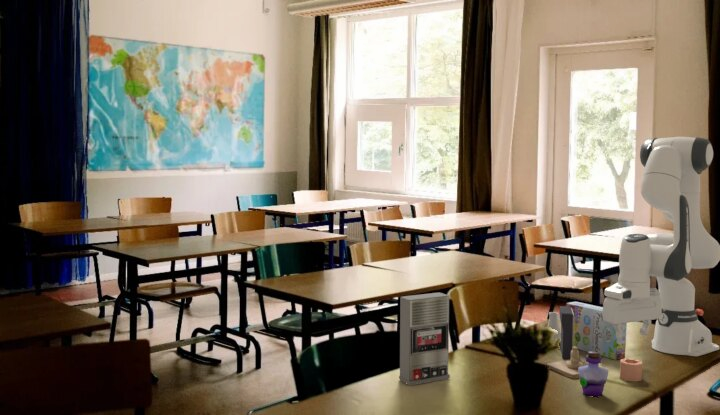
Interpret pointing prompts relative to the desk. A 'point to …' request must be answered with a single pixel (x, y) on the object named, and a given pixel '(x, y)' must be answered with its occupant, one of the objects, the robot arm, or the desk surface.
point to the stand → (568, 365)
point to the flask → (554, 324)
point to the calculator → (567, 331)
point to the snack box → (596, 332)
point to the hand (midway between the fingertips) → (631, 336)
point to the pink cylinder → (631, 369)
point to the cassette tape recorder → (424, 338)
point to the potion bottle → (592, 375)
